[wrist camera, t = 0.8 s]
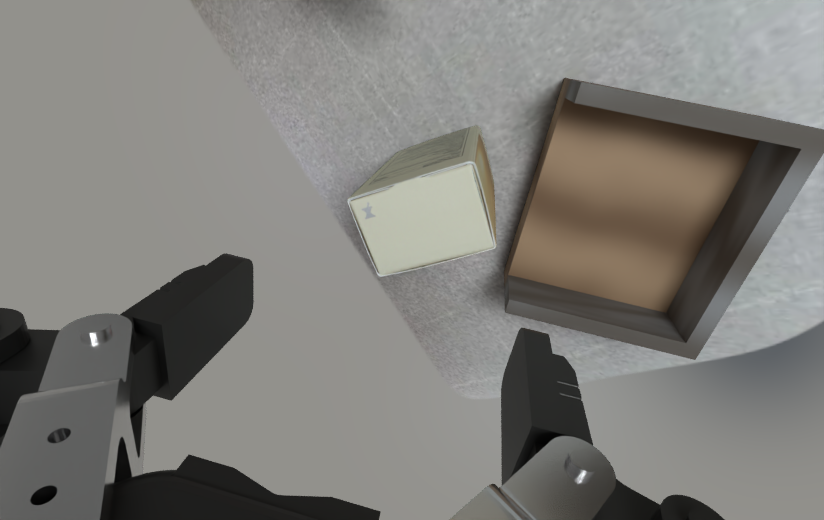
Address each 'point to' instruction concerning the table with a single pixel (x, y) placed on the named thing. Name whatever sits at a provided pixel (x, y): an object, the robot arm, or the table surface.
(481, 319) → the table surface
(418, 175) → the skincare box
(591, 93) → the open-sided tray
